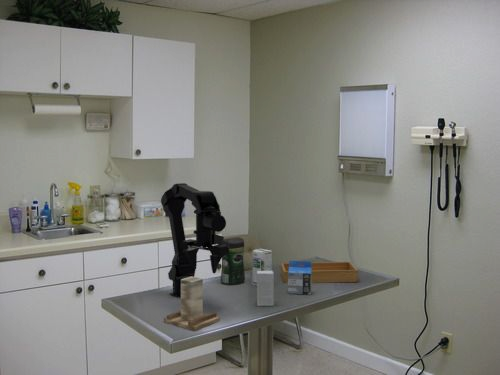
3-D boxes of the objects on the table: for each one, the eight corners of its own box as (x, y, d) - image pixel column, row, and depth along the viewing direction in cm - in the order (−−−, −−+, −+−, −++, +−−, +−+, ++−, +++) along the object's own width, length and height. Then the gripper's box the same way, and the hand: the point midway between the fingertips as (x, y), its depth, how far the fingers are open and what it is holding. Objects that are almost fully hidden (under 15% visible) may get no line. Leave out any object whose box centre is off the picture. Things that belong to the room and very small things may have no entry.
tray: (283, 284, 239) (283, 270, 239) (280, 274, 254) (280, 262, 254) (357, 283, 240) (358, 270, 240) (350, 274, 255) (350, 261, 255)
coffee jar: (236, 278, 246) (236, 235, 244) (247, 282, 239) (248, 238, 237) (217, 282, 240) (217, 237, 238) (228, 286, 233) (228, 240, 232)
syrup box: (251, 285, 235) (252, 250, 234) (261, 282, 239) (261, 247, 238) (262, 288, 231) (262, 252, 230) (272, 285, 236) (272, 249, 234)
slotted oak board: (163, 321, 190) (163, 314, 190) (188, 312, 200) (188, 305, 200) (195, 331, 182) (195, 323, 182) (219, 321, 192) (219, 313, 191)
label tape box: (287, 294, 223) (287, 262, 222) (288, 291, 227) (289, 260, 226) (310, 295, 222) (311, 263, 221) (311, 292, 226) (311, 261, 224)
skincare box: (273, 302, 212) (273, 270, 211) (273, 306, 208) (274, 273, 207) (256, 302, 212) (256, 270, 211) (256, 306, 208) (257, 273, 206)
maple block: (180, 318, 190) (180, 279, 189) (191, 314, 194) (191, 276, 193) (192, 321, 187) (191, 282, 186) (202, 317, 191) (202, 278, 190)
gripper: (239, 227, 204) (239, 270, 206) (199, 221, 215) (200, 263, 217) (218, 231, 195) (218, 277, 197) (178, 225, 207) (179, 268, 208)
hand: (204, 271), depth 205 cm, fingers open, 9 cm apart
